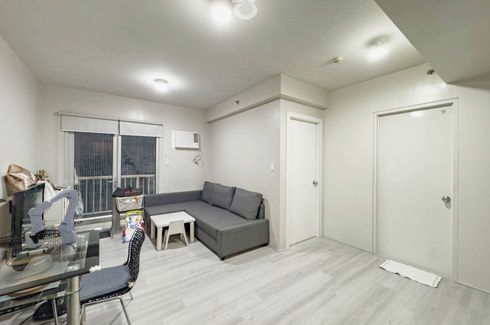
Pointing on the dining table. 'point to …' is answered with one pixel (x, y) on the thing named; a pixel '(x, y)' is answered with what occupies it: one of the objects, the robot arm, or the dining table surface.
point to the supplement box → (30, 243)
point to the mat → (48, 247)
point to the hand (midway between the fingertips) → (38, 241)
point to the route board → (22, 256)
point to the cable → (39, 251)
